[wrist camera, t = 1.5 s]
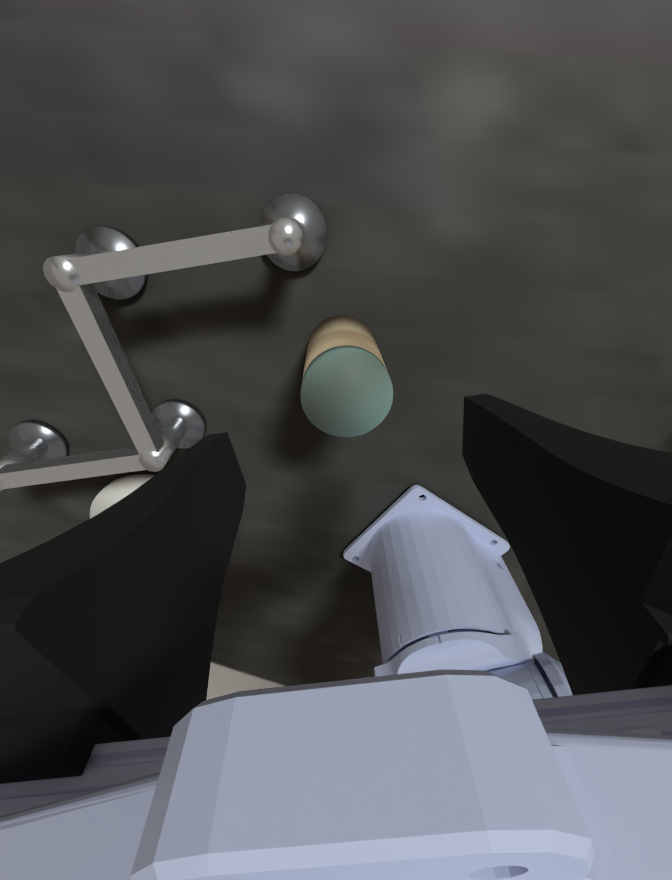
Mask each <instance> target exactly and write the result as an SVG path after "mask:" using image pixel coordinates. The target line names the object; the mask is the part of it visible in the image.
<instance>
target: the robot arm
mask: <svg viewBox="0 0 672 880" xmlns="http://www.w3.org/2000/svg"><path fill="white" fill-rule="evenodd" d="M462 454H463V457H464V460H465V462H466V465H467V467H468V470H469V472H470V475H471V477H472V479H473V481H474V483H475V485H476V487H477V488H478V490H479V492H480V494H481V495H482V497H483V499H484V500H485V502H486V504H487V506H488V507H489V509H490V511H491V512H492V514H493V516H494V517H495V519H496V521H497V522H498V524H499V526H500V527H501V529H502V531H503V532H504V534H505V536H506V537H507V539H508V541H509V543H510V545H511V547H512V549H513V550H514V552H515V554H516V557H517V559H518V561H519V563H520V566H521V568H522V570H523V572H524V574H525V577H526V579H527V581H528V583H529V586H530V588H531V590H532V593H533V595H534V597H535V600H536V602H537V605H538V607H539V609H540V612H541V614H542V616H543V619H544V621H545V624H546V626H547V629H548V631H549V634H550V636H551V639H552V642H553V644H554V647H555V649H556V652H557V654H558V657H559V659H560V662H561V663H559V662H558V661H556V660H554V659H552V658H551V657H550V656H549V655H548V654H546V653H545V652H542V641H541V636H540V632H539V629H538V627H537V625H536V622H535V621H534V619H533V617H532V615H531V613H530V611H529V609H528V607H527V605H526V603H525V601H524V599H523V597H522V596H521V594H520V592H519V590H518V588H517V586H516V584H515V582H514V580H513V578H512V576H511V574H510V573H509V571H508V569H507V567H506V565H505V563H504V561H503V559H502V557H501V555H503V554H504V553H505V552H507V551H508V550H509V548H510V546H509V544H508V542H507V541H506V540H504V539H503V538H501V537H499V536H498V535H496V534H495V533H493V532H492V531H490V530H488V529H487V528H485V527H484V526H482V525H481V524H479V523H478V522H476V521H474V520H473V519H471V518H470V517H468V516H467V515H465V514H464V513H462V512H460V511H459V510H457V509H456V508H454V507H453V506H451V505H449V504H448V503H446V502H445V501H443V500H442V499H440V498H439V497H437V496H435V495H434V494H432V493H431V492H429V491H428V490H426V489H424V488H423V487H421V486H419V485H414V486H412V487H410V488H409V489H408V490H407V491H406V492H405V493H404V494H403V495H402V496H401V497H400V498H399V499H398V500H397V501H395V502H394V503H393V504H392V505H391V506H390V507H389V508H388V509H387V510H386V511H385V512H384V513H383V514H382V515H381V516H380V517H379V518H378V519H376V520H375V521H374V522H373V523H372V524H371V525H370V526H369V527H368V528H367V529H366V530H365V531H364V532H363V533H362V534H361V535H360V536H359V537H357V538H356V539H355V540H354V541H353V542H352V543H351V544H350V545H349V546H348V547H347V548H346V549H345V550H344V551H343V557H344V558H345V559H346V560H348V561H350V562H352V563H354V564H356V565H358V566H360V567H362V568H364V569H365V570H367V571H369V572H371V575H372V583H373V591H374V598H375V606H376V614H377V622H378V630H379V638H380V646H381V654H382V662H383V664H382V665H379V666H376V667H375V668H374V674H375V677H368V678H359V679H349V680H340V681H331V682H322V683H313V684H303V685H294V686H285V687H276V688H267V689H258V690H249V691H240V692H236V693H232V694H228V695H224V696H220V697H217V698H213V699H209V700H206V697H207V688H208V679H209V670H210V662H211V653H212V646H213V639H214V632H215V625H216V619H217V613H218V607H219V601H220V595H221V589H222V585H223V581H224V576H225V573H226V569H227V566H228V562H229V559H230V555H231V552H232V548H233V545H234V541H235V538H236V534H237V531H238V527H239V524H240V520H241V516H242V512H243V506H244V498H245V489H246V483H245V480H244V477H243V475H242V472H241V469H240V466H239V463H238V461H237V458H236V455H235V452H234V450H233V447H232V444H231V441H230V438H229V436H228V433H227V432H225V433H219V434H212V435H207V436H206V437H204V438H202V439H201V440H200V441H198V442H197V443H196V444H194V445H193V446H192V447H190V448H189V449H188V450H187V451H185V452H184V453H183V454H182V455H180V456H179V457H178V458H177V459H175V460H174V461H173V462H171V463H170V464H169V465H168V466H166V467H165V468H164V469H163V470H161V471H160V472H159V473H157V474H156V475H155V476H153V477H152V478H151V479H149V480H148V481H147V482H145V483H144V484H143V485H141V486H140V487H139V488H137V489H136V490H134V491H133V492H132V493H130V494H129V495H127V496H126V497H124V498H123V499H121V500H120V501H118V502H117V503H115V504H113V505H112V506H110V507H109V508H107V509H105V510H104V511H102V512H101V513H99V514H97V515H96V516H94V517H92V518H90V519H89V520H87V521H85V522H83V523H81V524H79V525H78V526H76V527H74V528H72V529H70V530H68V531H66V532H65V533H63V534H61V535H59V536H57V537H55V538H53V539H51V540H49V541H47V542H45V543H43V544H41V545H39V546H37V547H35V548H33V549H31V550H29V551H26V552H24V553H22V554H20V555H18V556H15V557H13V558H11V559H9V560H7V561H4V562H2V563H0V880H672V454H671V453H666V452H662V451H657V450H652V449H647V448H642V447H638V446H634V445H630V444H626V443H622V442H618V441H614V440H611V439H607V438H604V437H600V436H596V435H593V434H590V433H587V432H584V431H581V430H578V429H575V428H572V427H569V426H566V425H564V424H561V423H558V422H555V421H553V420H550V419H548V418H545V417H542V416H540V415H538V414H535V413H533V412H530V411H528V410H526V409H523V408H521V407H518V406H516V405H514V404H511V403H509V402H507V401H504V400H502V399H499V398H497V397H494V396H491V395H488V394H481V395H474V396H467V397H464V420H463V448H462ZM421 495H424V496H423V497H419V496H421ZM493 540H494V541H493Z"/></svg>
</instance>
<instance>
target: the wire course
mask: <svg viewBox="0 0 672 880" xmlns="http://www.w3.org/2000/svg"><path fill="white" fill-rule="evenodd" d="M326 240H327V228H326V223H325V220H324V217H323V215H322V213H321V212H320V210H319V208H318V207H317V206H316V205H315V204H314V203H313V202H312V201H311V200H309V199H308V198H306V197H304V196H302V195H299V194H292V193H289V194H283V195H280V196H278V197H276V198H274V199H273V200H272V201H271V202H270V203H269V204H268V205H267V206H266V208H265V209H264V211H263V213H262V215H261V219H260V223H259V227H254V228H249V229H243V230H237V231H231V232H225V233H219V234H213V235H207V236H201V237H195V238H189V239H183V240H178V241H172V242H166V243H160V244H154V245H148V246H142V247H139V246H138V245H137V244H136V243H135V241H134V240H133V239H132V238H131V237H129V236H128V235H127V234H125V233H124V232H122V231H120V230H118V229H115V228H112V227H92V228H89V229H87V230H85V231H84V232H83V233H82V234H81V235H80V236H79V237H78V239H77V241H76V245H75V254H70V255H62V256H54V257H50V258H48V259H47V260H46V261H45V262H44V265H43V271H44V275H45V277H46V279H47V280H48V282H49V283H50V284H51V285H52V286H53V287H55V288H56V289H57V291H58V293H59V295H60V297H61V299H62V301H63V303H64V305H65V307H66V309H67V311H68V313H69V315H70V317H71V319H72V321H73V323H74V325H75V327H76V329H77V331H78V333H79V335H80V337H81V339H82V341H83V343H84V345H85V347H86V349H87V351H88V353H89V355H90V357H91V359H92V361H93V363H94V365H95V367H96V369H97V371H98V373H99V375H100V377H101V379H102V381H103V383H104V385H105V387H106V389H107V391H108V393H109V395H110V397H111V399H112V401H113V403H114V405H115V407H116V409H117V411H118V413H119V415H120V417H121V419H122V421H123V423H124V425H125V427H126V429H127V431H128V433H129V435H130V437H131V439H132V441H133V443H134V445H135V447H129V448H122V449H115V450H107V451H100V452H93V453H86V454H78V455H71V456H68V453H69V445H68V442H67V440H66V439H65V437H64V436H63V435H62V434H61V433H60V432H59V431H58V430H57V429H56V428H54V427H53V426H51V425H49V424H47V423H44V422H41V421H36V420H27V421H23V422H21V423H19V424H18V425H16V426H15V427H13V428H12V429H11V431H10V433H9V442H10V445H11V447H12V448H13V450H12V451H10V452H9V453H8V454H6V455H5V456H4V457H2V458H1V459H0V491H1V490H3V489H7V488H15V487H22V486H30V485H37V484H44V483H52V482H59V481H67V480H74V479H82V478H89V477H96V476H104V475H111V474H119V473H126V472H134V471H141V470H148V471H152V472H157V471H160V470H162V469H163V467H164V466H165V464H166V463H167V461H168V460H169V458H170V457H171V455H172V454H173V452H174V451H175V449H176V448H182V449H184V448H190V447H192V446H193V445H194V444H196V443H197V442H198V441H200V440H201V439H202V438H203V436H204V434H205V431H206V422H205V419H204V417H203V415H202V413H201V412H200V411H199V410H198V409H197V408H196V407H195V406H193V405H192V404H190V403H188V402H185V401H182V400H174V399H173V400H167V401H164V402H162V403H160V404H159V405H158V406H157V407H156V408H155V409H154V411H153V412H152V414H151V412H150V409H149V407H148V405H147V403H146V400H145V398H144V396H143V394H142V392H141V389H140V387H139V385H138V383H137V380H136V378H135V376H134V374H133V372H132V369H131V367H130V365H129V363H128V360H127V358H126V356H125V354H124V352H123V349H122V347H121V345H120V343H119V340H118V338H117V336H116V334H115V331H114V329H113V327H112V325H111V323H110V320H109V318H108V316H107V314H106V311H105V309H104V307H103V305H102V303H101V300H100V298H99V296H98V294H97V292H98V293H100V294H102V295H104V296H106V297H109V298H112V299H127V298H130V297H132V296H135V295H137V294H138V293H139V292H141V291H142V289H143V288H144V286H145V284H146V282H147V278H148V274H151V273H157V272H163V271H169V270H175V269H182V268H188V267H194V266H200V265H206V264H212V263H218V262H224V261H230V260H236V259H242V258H248V257H254V256H261V255H267V256H268V258H269V259H270V260H271V261H272V262H273V263H274V264H276V265H277V266H279V267H281V268H283V269H285V270H289V271H301V270H305V269H307V268H309V267H311V266H312V265H313V264H315V263H316V262H317V261H318V260H319V258H320V257H321V255H322V253H323V251H324V249H325V245H326Z"/></svg>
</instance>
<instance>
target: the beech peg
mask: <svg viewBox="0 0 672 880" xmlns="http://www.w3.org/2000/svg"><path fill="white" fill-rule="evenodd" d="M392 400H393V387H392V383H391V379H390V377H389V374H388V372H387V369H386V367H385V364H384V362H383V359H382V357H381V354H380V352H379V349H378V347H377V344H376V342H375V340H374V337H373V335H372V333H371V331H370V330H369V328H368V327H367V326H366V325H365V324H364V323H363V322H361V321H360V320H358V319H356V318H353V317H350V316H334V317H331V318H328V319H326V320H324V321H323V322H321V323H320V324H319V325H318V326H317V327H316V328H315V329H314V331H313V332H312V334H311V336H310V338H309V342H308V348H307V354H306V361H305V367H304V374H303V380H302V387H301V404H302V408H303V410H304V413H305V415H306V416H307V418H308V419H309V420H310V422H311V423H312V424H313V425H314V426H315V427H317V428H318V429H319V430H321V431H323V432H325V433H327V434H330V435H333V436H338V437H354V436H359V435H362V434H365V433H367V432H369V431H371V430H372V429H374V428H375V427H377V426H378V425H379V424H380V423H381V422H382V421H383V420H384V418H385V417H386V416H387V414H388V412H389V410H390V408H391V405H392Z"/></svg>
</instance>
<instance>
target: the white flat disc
mask: <svg viewBox="0 0 672 880" xmlns="http://www.w3.org/2000/svg"><path fill="white" fill-rule="evenodd" d="M153 476H155V475H150V474H135V475H128V476H124V477H121V478H118V479H116V480H113V481H111V482H110V483H109V484H107V485H106V486H105V487H104V488H103V489H102V490H101V491H100V492H99V493H98V495H97V496H96V497H95V499H94V500H93V502H92V505H91V509H90V518H92V517H94V516H96V515H97V514H99V513H101V512H102V511H104V510H105V509H107V508H109V507H110V506H112V505H113V504H115V503H117V502H118V501H120V500H121V499H123V498H124V497H126V496H127V495H129V494H130V493H132V492H133V491H134V490H136V489H137V488H139V487H140V486H141V485H143V484H144V483H145V482H147V481H148V480H149V479H151V478H152V477H153Z"/></svg>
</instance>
